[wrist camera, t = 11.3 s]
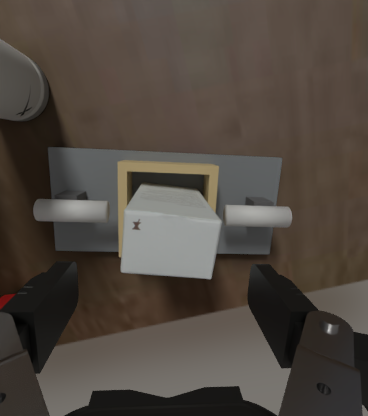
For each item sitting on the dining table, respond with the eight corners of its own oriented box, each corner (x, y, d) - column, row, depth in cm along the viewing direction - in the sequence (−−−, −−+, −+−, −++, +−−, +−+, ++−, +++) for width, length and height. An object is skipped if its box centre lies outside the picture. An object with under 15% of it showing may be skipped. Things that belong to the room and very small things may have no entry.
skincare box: (138, 220, 27) (116, 274, 15) (142, 181, 26) (121, 206, 14) (193, 226, 28) (213, 282, 16) (199, 188, 27) (224, 218, 15)
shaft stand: (61, 245, 29) (33, 271, 23) (54, 147, 26) (20, 146, 20) (264, 249, 30) (288, 274, 24) (276, 157, 28) (306, 159, 22)
